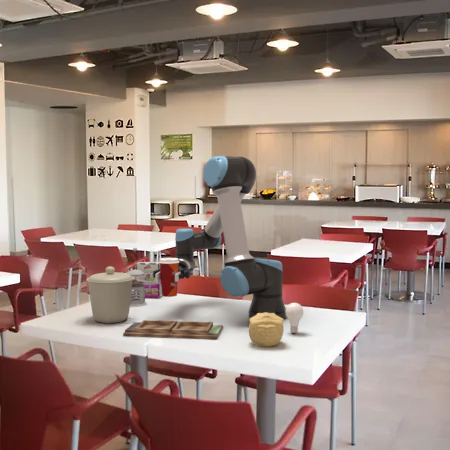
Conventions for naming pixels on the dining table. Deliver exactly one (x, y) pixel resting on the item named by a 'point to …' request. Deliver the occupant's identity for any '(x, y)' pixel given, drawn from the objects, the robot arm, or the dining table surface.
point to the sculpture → (266, 329)
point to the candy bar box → (148, 272)
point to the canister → (110, 295)
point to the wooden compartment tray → (174, 329)
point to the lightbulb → (294, 316)
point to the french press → (137, 288)
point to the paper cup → (168, 276)
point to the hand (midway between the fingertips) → (166, 277)
